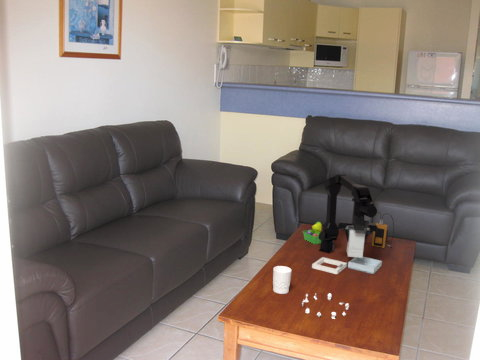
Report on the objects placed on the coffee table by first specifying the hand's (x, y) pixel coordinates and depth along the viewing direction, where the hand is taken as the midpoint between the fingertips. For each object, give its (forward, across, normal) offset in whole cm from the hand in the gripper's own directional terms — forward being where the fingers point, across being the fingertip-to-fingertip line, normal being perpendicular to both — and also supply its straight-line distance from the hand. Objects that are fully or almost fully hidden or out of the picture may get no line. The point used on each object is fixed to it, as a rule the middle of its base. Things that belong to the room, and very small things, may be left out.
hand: (355, 242), depth 261 cm
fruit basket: (+13, -19, +36) cm, 43 cm away
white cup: (+13, -35, -38) cm, 53 cm away
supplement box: (+7, 0, 0) cm, 7 cm away
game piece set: (+14, -16, -51) cm, 55 cm away
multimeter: (+13, +19, +41) cm, 47 cm away
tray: (+13, +6, +2) cm, 14 cm away
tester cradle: (+13, -12, -3) cm, 18 cm away
